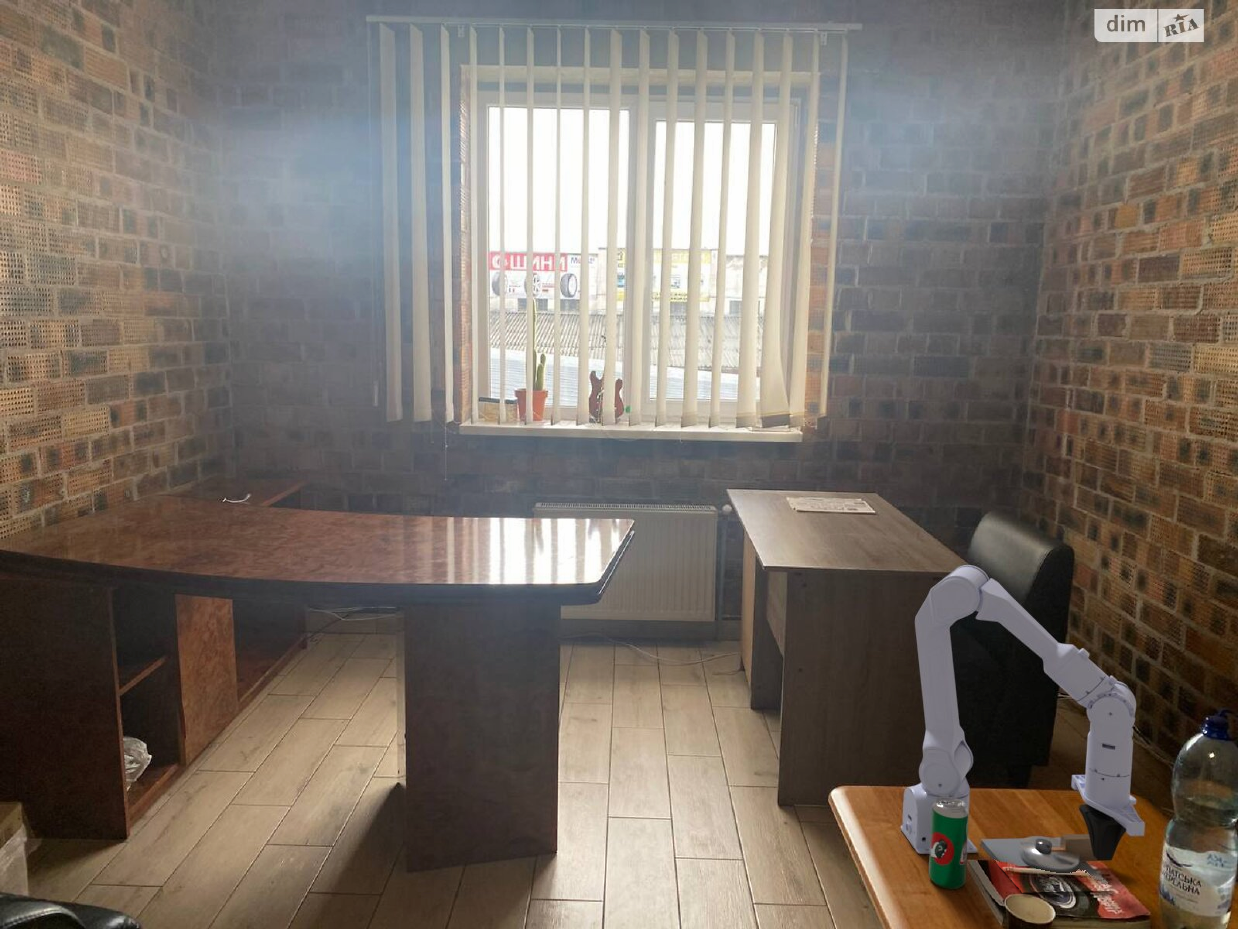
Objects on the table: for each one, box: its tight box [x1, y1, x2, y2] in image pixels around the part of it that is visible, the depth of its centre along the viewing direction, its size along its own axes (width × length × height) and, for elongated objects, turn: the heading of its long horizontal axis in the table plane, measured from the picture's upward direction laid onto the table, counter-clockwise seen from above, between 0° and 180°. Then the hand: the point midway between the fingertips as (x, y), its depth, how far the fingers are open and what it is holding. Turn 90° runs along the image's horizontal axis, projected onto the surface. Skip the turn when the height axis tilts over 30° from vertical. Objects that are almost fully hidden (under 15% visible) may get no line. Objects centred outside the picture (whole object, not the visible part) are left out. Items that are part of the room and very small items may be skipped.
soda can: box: [928, 797, 970, 890], centre depth 130 cm, size 5×5×12 cm
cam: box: [1020, 833, 1111, 873], centre depth 134 cm, size 14×8×4 cm, turn 93°
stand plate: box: [980, 837, 1111, 886], centre depth 134 cm, size 13×13×1 cm
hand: (1102, 858), depth 129 cm, fingers closed
